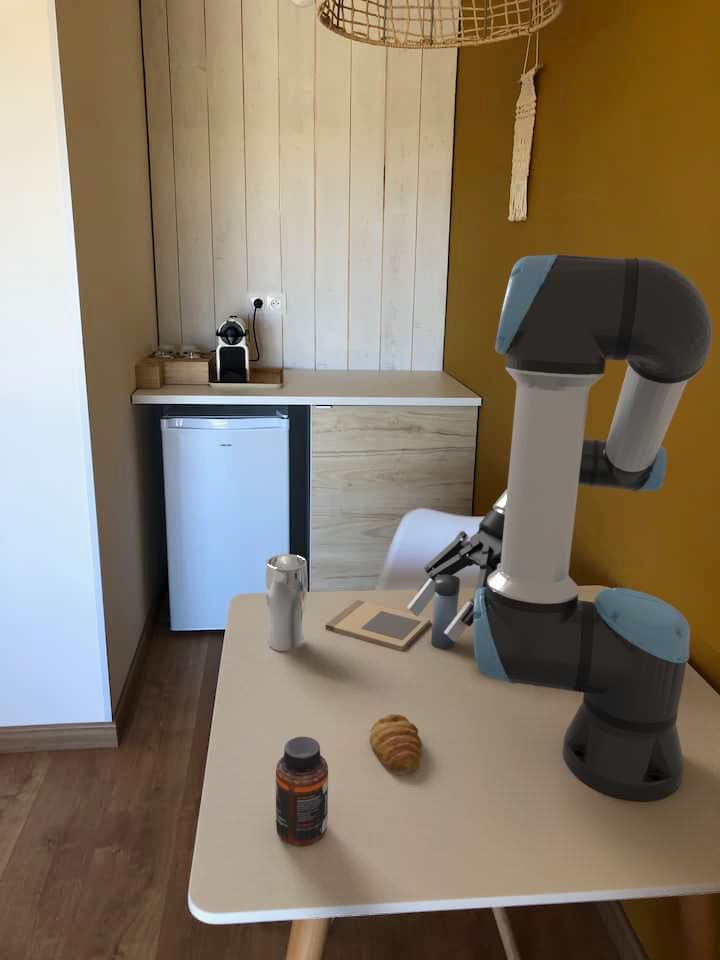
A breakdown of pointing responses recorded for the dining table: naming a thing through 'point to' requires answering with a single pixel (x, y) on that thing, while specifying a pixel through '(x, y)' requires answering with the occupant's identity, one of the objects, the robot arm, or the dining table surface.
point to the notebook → (378, 624)
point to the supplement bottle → (301, 793)
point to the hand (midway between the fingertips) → (430, 624)
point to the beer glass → (286, 600)
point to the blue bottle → (444, 609)
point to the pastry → (396, 744)
